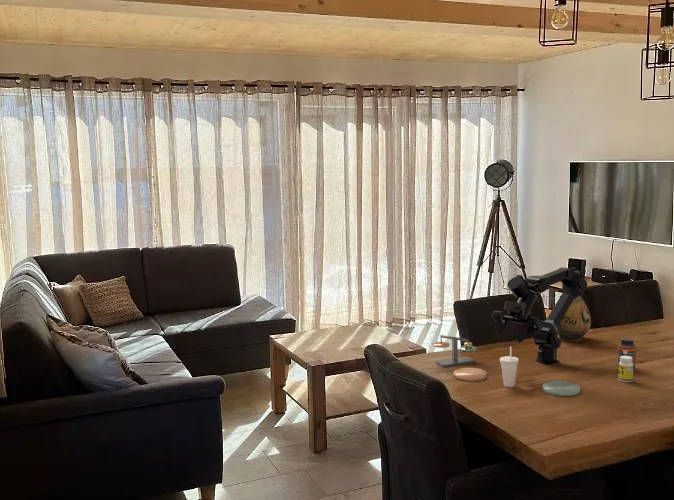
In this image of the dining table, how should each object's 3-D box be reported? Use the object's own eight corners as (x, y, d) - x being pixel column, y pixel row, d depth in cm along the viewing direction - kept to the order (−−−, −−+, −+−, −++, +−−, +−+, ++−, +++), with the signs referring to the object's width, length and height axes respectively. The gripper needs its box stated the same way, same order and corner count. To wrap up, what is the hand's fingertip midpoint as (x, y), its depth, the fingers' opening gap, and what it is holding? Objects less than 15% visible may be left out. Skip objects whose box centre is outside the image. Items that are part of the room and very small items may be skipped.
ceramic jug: (586, 345, 277) (587, 275, 273) (549, 341, 285) (549, 273, 281) (594, 336, 291) (595, 269, 287) (558, 332, 299) (559, 267, 295)
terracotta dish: (475, 369, 251) (475, 366, 251) (493, 378, 240) (493, 375, 240) (447, 373, 247) (447, 370, 247) (464, 382, 236) (464, 379, 236)
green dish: (563, 382, 233) (563, 379, 233) (587, 392, 222) (587, 389, 221) (535, 387, 229) (535, 384, 229) (558, 398, 218) (558, 394, 217)
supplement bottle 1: (627, 372, 242) (628, 342, 240) (614, 367, 247) (614, 338, 245) (638, 369, 244) (639, 339, 243) (625, 365, 250) (625, 336, 248)
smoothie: (519, 388, 228) (519, 349, 226) (500, 388, 229) (500, 349, 227) (517, 382, 234) (517, 344, 232) (499, 382, 235) (499, 344, 234)
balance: (470, 357, 265) (470, 328, 264) (479, 362, 259) (479, 332, 258) (430, 363, 259) (429, 334, 258) (438, 368, 253) (437, 337, 252)
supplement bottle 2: (615, 378, 235) (616, 355, 234) (628, 377, 235) (629, 354, 234) (622, 382, 230) (623, 359, 229) (635, 382, 231) (636, 358, 230)
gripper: (493, 289, 248) (476, 323, 242) (538, 295, 234) (521, 332, 228) (505, 306, 254) (489, 340, 248) (550, 313, 241) (533, 349, 235)
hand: (507, 340), depth 240 cm, fingers open, 9 cm apart
